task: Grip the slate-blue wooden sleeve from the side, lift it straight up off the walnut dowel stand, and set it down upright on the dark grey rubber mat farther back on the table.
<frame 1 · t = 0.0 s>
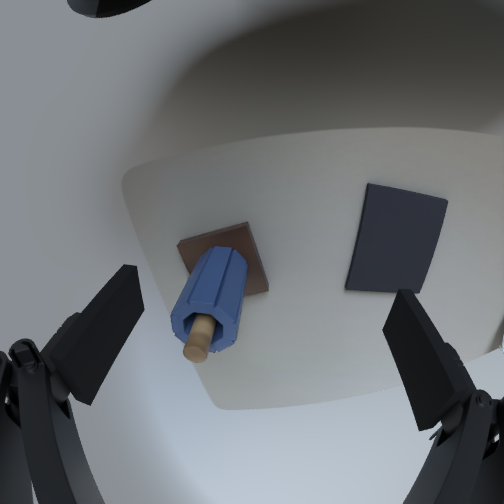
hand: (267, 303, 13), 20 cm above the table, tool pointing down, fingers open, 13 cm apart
sleeve: (222, 268, 33), point 1 cm above the table, touching dowel stand
dowel stand: (224, 263, 35), on the table
mat: (397, 243, 32), on the table
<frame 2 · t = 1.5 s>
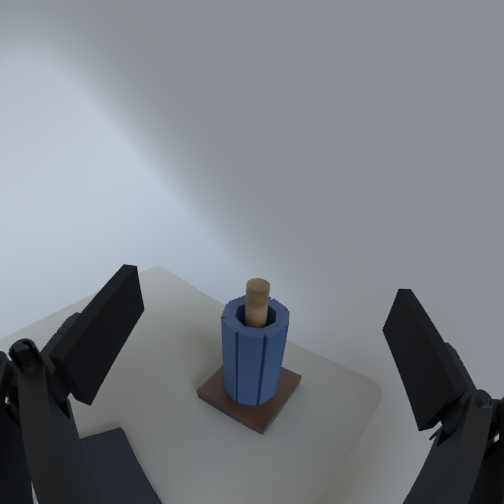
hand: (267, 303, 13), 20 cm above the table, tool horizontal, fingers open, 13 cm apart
sleeve: (250, 384, 29), point 1 cm above the table, touching dowel stand
dowel stand: (250, 391, 30), on the table
mat: (98, 494, 14), on the table
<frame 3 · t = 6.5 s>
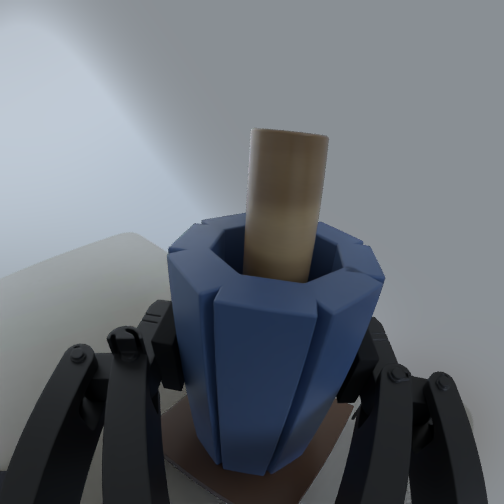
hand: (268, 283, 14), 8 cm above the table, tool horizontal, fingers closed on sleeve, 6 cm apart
sleeve: (253, 427, 13), point 2 cm above the table, touching dowel stand, gripper
dowel stand: (251, 437, 13), on the table
when the fingers open (7 cm above the table, at t = 18.7 s): sleeve stays where it is, resting on mat.
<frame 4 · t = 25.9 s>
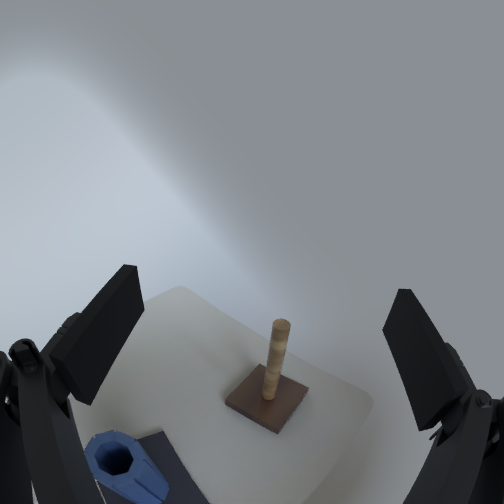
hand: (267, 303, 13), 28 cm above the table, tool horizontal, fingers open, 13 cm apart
sleeve: (144, 485, 21), point 1 cm above the table, touching mat
dowel stand: (267, 399, 37), on the table
mat: (146, 487, 21), on the table
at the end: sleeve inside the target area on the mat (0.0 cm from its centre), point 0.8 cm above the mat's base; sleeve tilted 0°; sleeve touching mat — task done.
